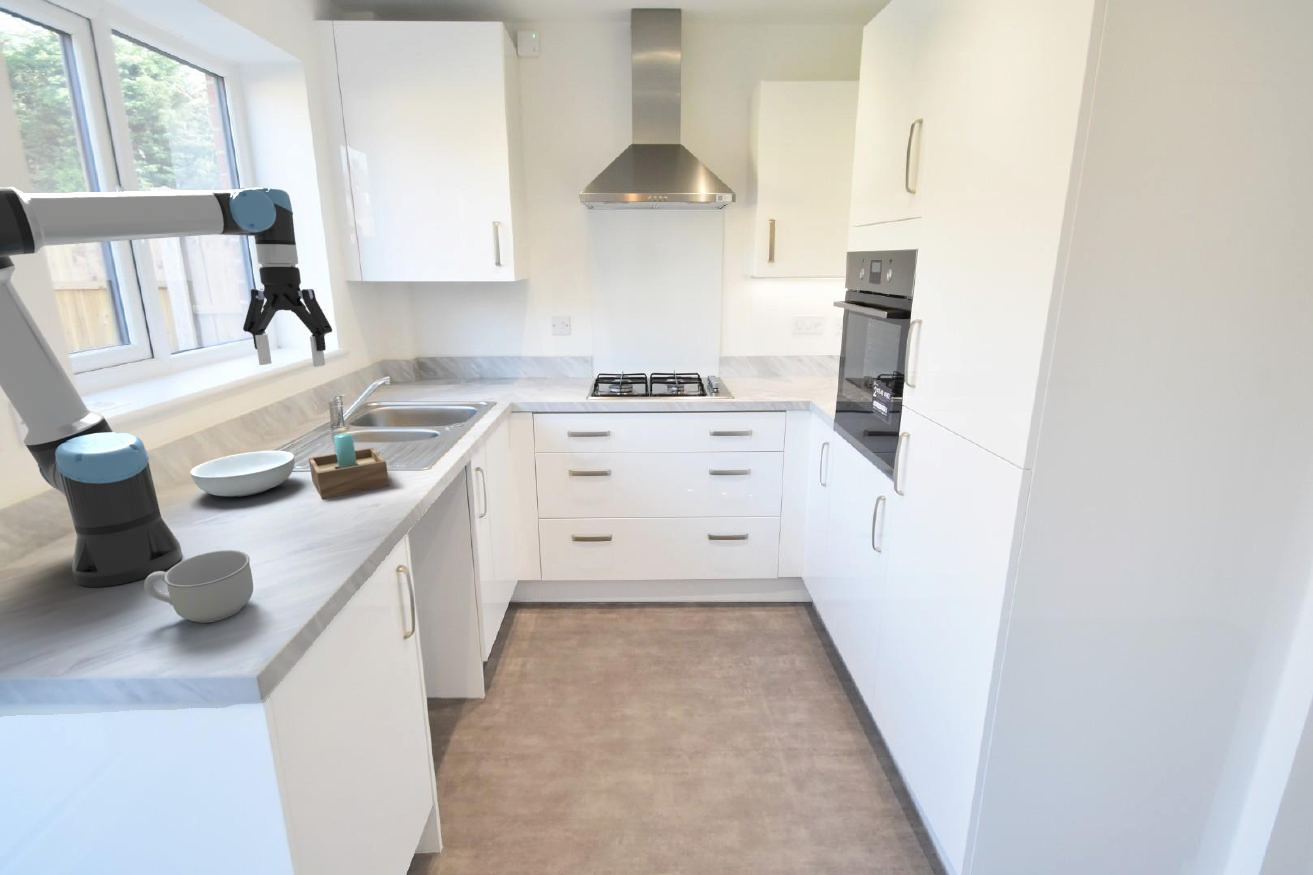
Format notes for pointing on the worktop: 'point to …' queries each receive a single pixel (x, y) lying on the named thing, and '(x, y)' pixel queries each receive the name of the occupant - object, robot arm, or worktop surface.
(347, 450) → the peg
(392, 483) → the worktop surface
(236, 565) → the teacup
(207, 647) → the worktop surface
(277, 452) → the serving bowl
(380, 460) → the bore box
